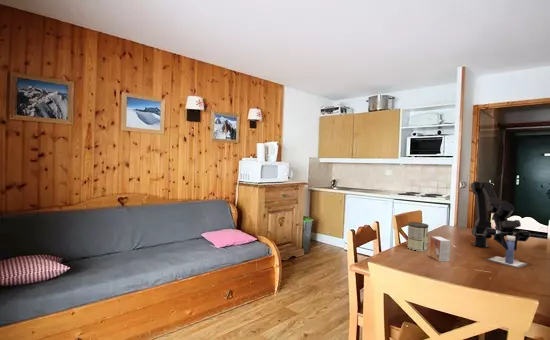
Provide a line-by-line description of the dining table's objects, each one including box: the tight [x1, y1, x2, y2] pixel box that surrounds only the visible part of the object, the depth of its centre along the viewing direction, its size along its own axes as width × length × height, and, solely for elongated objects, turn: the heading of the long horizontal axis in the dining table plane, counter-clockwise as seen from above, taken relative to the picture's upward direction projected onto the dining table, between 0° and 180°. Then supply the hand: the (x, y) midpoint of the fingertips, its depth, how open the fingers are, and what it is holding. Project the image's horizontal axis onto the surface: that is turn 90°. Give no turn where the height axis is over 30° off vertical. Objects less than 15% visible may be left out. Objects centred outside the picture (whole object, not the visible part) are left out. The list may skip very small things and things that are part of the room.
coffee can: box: [406, 221, 430, 252], centre depth 168 cm, size 10×10×14 cm
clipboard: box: [486, 255, 528, 269], centre depth 150 cm, size 11×13×1 cm
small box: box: [429, 236, 452, 262], centre depth 152 cm, size 8×6×10 cm
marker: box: [504, 235, 515, 263], centre depth 146 cm, size 3×3×13 cm
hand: (511, 249), depth 145 cm, fingers closed on marker, 3 cm apart
